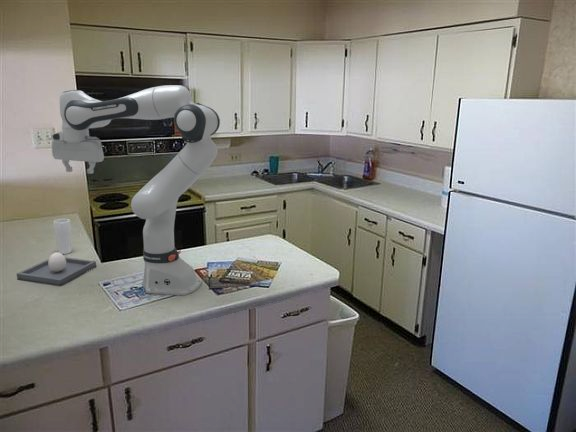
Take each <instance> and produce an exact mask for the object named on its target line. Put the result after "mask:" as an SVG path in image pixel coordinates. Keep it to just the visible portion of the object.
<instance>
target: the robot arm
mask: <svg viewBox="0 0 576 432" xmlns="http://www.w3.org/2000/svg"><path fill="white" fill-rule="evenodd" d="M59 114H60V117H61V121H62V124H61V130H60V131H57V132H55V133H52V134H50V139H51V155H52V157H53V159H54V160H61V161H62V164H63V165H64V168H65V171H66V172H67V173H72V172H73V166H71V165H70V163H69V162H70V161H74V162H75V161H77V162H86V163H87V162H88V165H89V168H87V169H86V172H87V174H88V175H89V174H90V175H91V174H94V172H95V170H94V169H95V167H96V163H100V162H103V161H104V159H105V153H104V150H103V145H102V140H101V139H100V138H99V137H97V136H91V135H90V131H89V129H98V128H104V127H105V126H108V125H110V123H111V122H112V120H116V119H133V120H146V121H147V120H148V121H149V120H152V121H156V120H165V119H171V118H173V123H174V126H175V127H174V128H176V130H177V132H178V133H179V134H180V136H181V138H182V140H183V141H184V142H185V143H186V144H185V145H184V147H183V148H182V149H180V151H179V152H178V153H177V154H176V155H175V157H173V158H172V159H171V161H169V163H167V165H166V166H165V167H164V168H163V169H161V170H160V171H159V172H158V173H156V175H154V176H153V177H152V178H151V179H150V180H149V181H148V182H147V183H146V184H144V186H143V187H142V188H141V189H139V190H138V192H137V193H136V194H134V195H133V197H132V199H131V200H130V202H131V203H130V206H131V207H130V208H131V210H132V213H133V214H134V215H135V216H136V217H138V218H139V219H142V220H145V222H144V225H143V227H142V228H143V229H142V239H143V249H142V256H143V262H144V269H143V270H144V271H143V279H142V282H141V285H142V286H141V287H142V288H143V289H145V293H147V294H156V295H157V294H158V295H173V296H174V295H175V296H176V295H177V296H186V295H189V294H190V295H191V294H192V293H194V292H195V291H196V290H197V289H199V288H200V287H201V285H202V283H203V282H202V278H200V277H197V276H196V272H195V269H194V267H193V266H192V265H191V264H189V263H188V262H186V261H185V260H184V259H183V258H181V257H180V254H181V253H182V252H181V251H182V250H181V249H180V250H177V248H176V247H175V220H176V214H177V206H178V201H179V198H180V197H181V196H182V195H183V194H184V193H185V192H186V191H188V190H189V189H190V188H191V187H192V185H194V184H195V182H196V181H198V179H199V178H200V177H201V176H202V175H203V174H204V173H206V171H207V170H208V168H210V166H211V165H212V163H213V162H214V160H215V159H216V157H217V155H218V147H217V145H216V143H215V142H214V141H213V140H212V137H211V136H213V135H215V134H216V132H217V131H218V130H219V128H220V124H221V118H220V116H219V114H218V113H217V112H216V111H215V110H214V109H213V108H212V107H210V106H207V105H205V104H202V103H199V102H196V103H195V102H194V101H193V98H192V94H191V92H190V91H189V89H188V88H187V87H186V86H184V85H180V84H179V85H177V84H176V85H175V84H174V85H172V84H169V85H167V84H166V85H159V86H153V87H149V88H145V89H143V90H139V91H138V92H134V93H131V94H128V95H126V96H123V97H119V98H115V99H111V100H110V99H109V100H99V99H96V98H93V97H91V96H89V95H88V94H87V93H85V92H84V91H82V90H80V89H73V90H65V91H63V92H61V93H60V95H59Z"/></svg>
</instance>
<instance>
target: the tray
mask: <svg viewBox="0 0 576 432" xmlns="http://www.w3.org/2000/svg"><path fill="white" fill-rule="evenodd" d="M64 257H65V259H66V266H65V268H64V269H63V270H62V271H59V272H55V271H53V270H51V269H50V268H49V265H48V260H49V258H48V259H45V260H43V261H41V262H39V263H37V264H35V265H32V266H29V267H28V268H26V269H24V270H21V271H19V272H17V273H16V278H17V280H18V281H24V282H30V283H31V282H32V283H36V284H45V285H50V286H51V285H52V286H54V287H55V286H56V287H57V286H58V287H62V286H64V285H66V284H68V283H69V282H72V281H73V280H75V279H77V278H79V277H80V276H83V275H84V274H86V273H88V272H90V271H92V270H93V269H95V268H97V262H96V260H88V259H82V258H74V257H68V256H67V257H66V256H64ZM91 269H92V270H91ZM89 270H90V271H89ZM87 271H88V272H87Z"/></svg>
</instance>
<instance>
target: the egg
mask: <svg viewBox="0 0 576 432" xmlns="http://www.w3.org/2000/svg"><path fill="white" fill-rule="evenodd" d="M65 257H66V256H64V254H61V253H59V251H57V252H53V253H51V254H50V256H49V257H48V259H49V260H48V265H49V268H50V269H51V270H53V271H55V272H59V271H62V270H63V269H64V268H65V266H66V259H65Z"/></svg>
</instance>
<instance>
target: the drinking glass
mask: <svg viewBox="0 0 576 432" xmlns="http://www.w3.org/2000/svg"><path fill="white" fill-rule="evenodd" d="M71 223H72V222H71V219H69V218H59V219H55V220H53V223H52V224H53V231H54V236H55V240H56V244H57V249H58V253H61V254H62V255H67V254H70V253H72V252H73V251H72V250H73V248H72V224H71Z"/></svg>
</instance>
